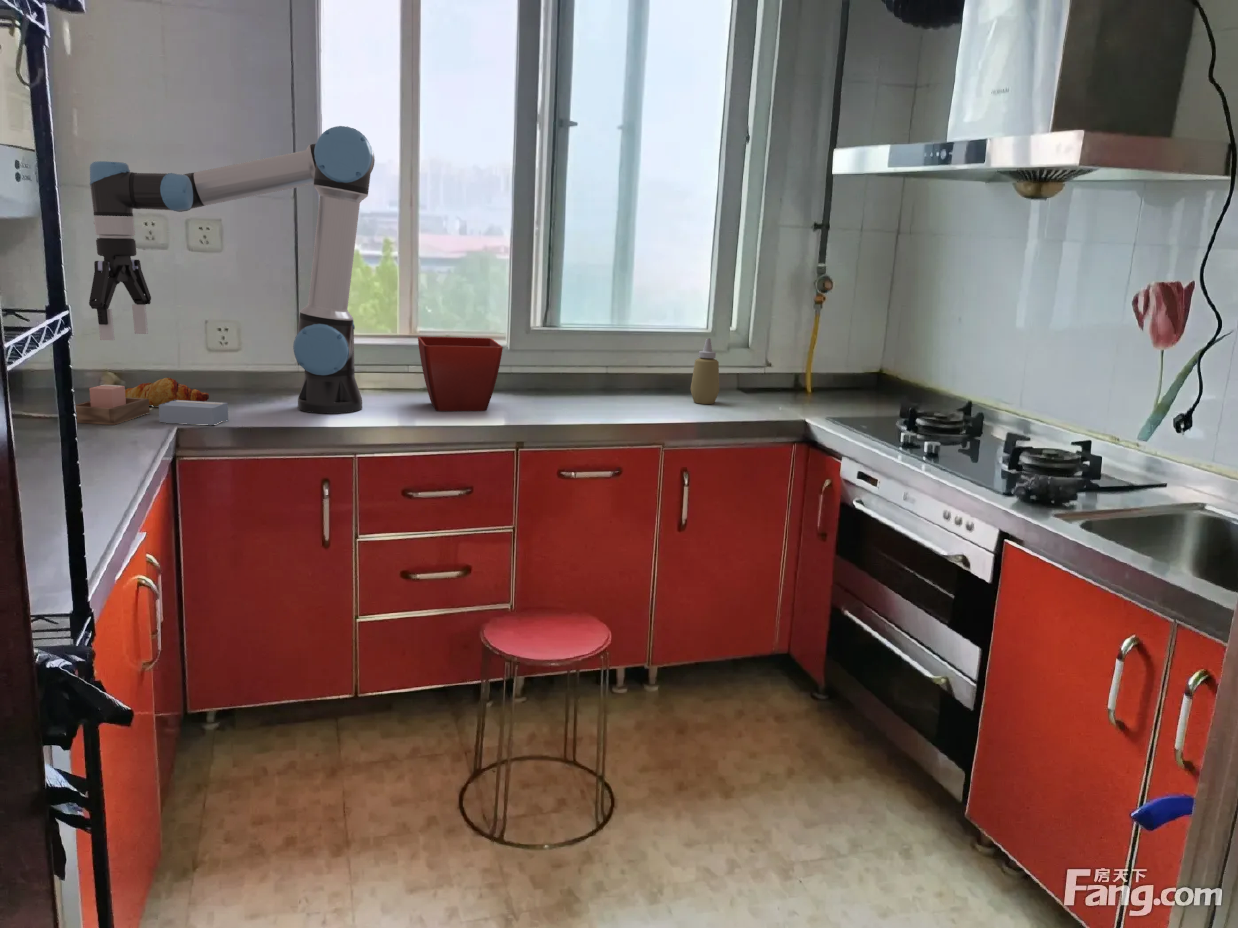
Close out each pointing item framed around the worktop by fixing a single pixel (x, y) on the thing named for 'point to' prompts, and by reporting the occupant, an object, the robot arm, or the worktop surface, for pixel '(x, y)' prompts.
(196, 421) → the grey flat block
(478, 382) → the plant pot
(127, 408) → the tray
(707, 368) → the squeeze bottle
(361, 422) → the worktop surface
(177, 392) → the croissant
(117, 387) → the pink block
